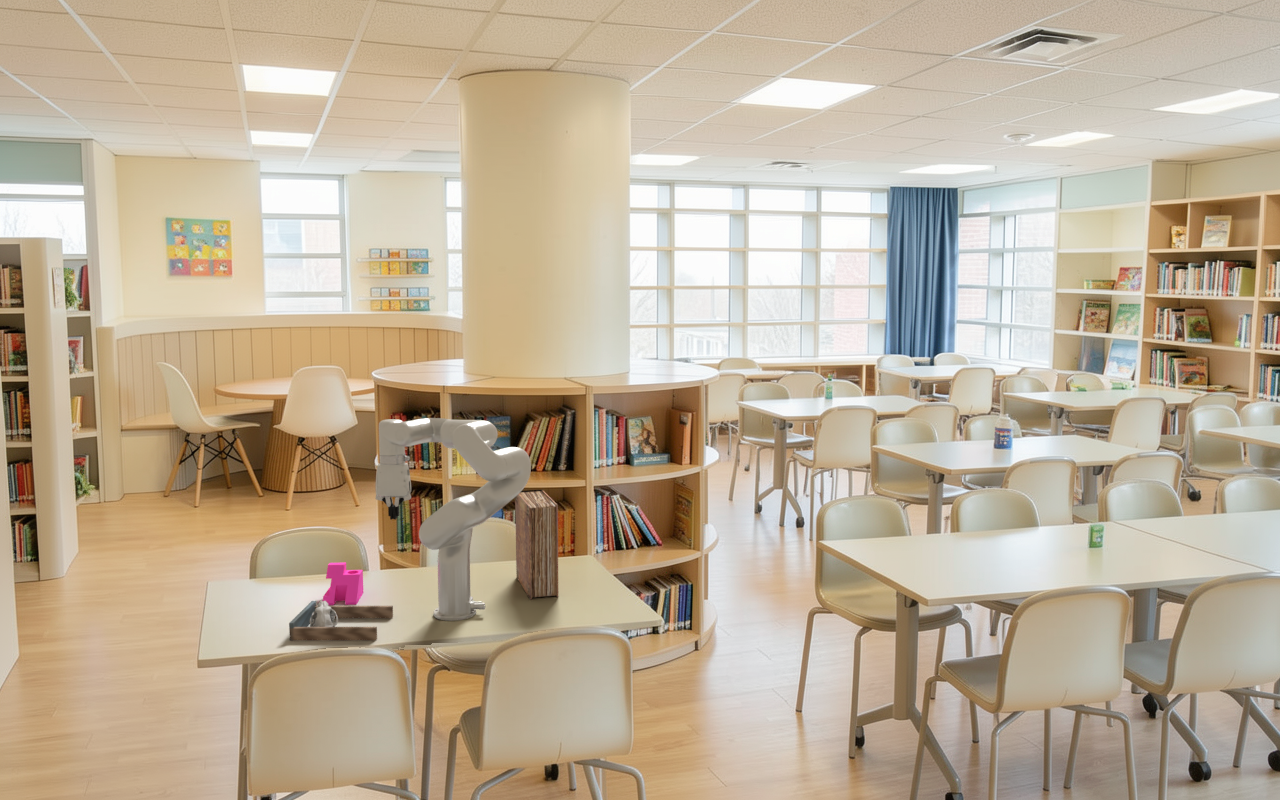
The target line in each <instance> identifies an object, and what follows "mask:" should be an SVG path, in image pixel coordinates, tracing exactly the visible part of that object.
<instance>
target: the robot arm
mask: <svg viewBox="0 0 1280 800" xmlns="http://www.w3.org/2000/svg"><path fill="white" fill-rule="evenodd" d="M498 436H499V435H498V430H497V427H496V426H495V425H494V424H493V423H492V422H490V421H488V420H479V419H449V418H445V417H444V418H443V417H442V418H440V417H437V418H436V417H425V418H424V417H422V418H417V419H412V420H406V421H403V420H401V419H397V418H395V419H394V418H392V419H389V418H388V419H382V420H381V421H379V423H378V442H379V443H378V444H379V445H378V446H379V447H378V449H379V450H378V451H379V463H378V464H377V467H376V473H375V500H376V501H380V502H384V504H385V505H386V507H388V508H387V509H388V510H387V511H388V512H387V513H388V517H390V520H392V521H393V520H394V521H395V520H397V519H398V517H399V516H400V506H401V504H402V503H403V502H405V501H409V500H411V499H412V495H411V492H412V482H411V473H410V467H409V463H407V461H410V459H411V457H410V455H406V450H405V449H406V448H405V447H407V448H408V447H412V446H413V447H414V446H416V445H421V444H425V443H426V444H427V443H442V445H443V446H444V447H445V448H447V449H455V450H456V451H457V453H458V454H459V455H460V457H462V458H463V459H464V461H465V462H466V463H468V465H469V466H470V467H471V468H472V469H473V470H474V471H475V472H476V473H477V475H478V476H479V477H481V478H482V479H483V480H485V481H487V482H486V483H485V484H483V485H482V486H481V487H479V488H478V489H477V490H475V491H474V492H472V493H469V494H466V495H462V496H460V497H456V498H454V499H451V500H449V501H447V502H446V503H445V504H443V505H442V506H440V508H439V509H437V510H436V511H434V512H433V513H432V514H431V515H429V516H428V517H427V518H426V519H425V520H424V521H423V522H422V523H421V524H420V527H419V531H418V537H419V541H420V543H421V544H422V545H423V546H424V547H425V548H426V549H429V550H433V551H436V550H438V551H437V552H438V553H437V589H438V590H437V591H438V593H437V594H438V598H437V599H438V607H436V608H435V609H434V610H433V613H432V614H433V617H434V618H436V619H437V620H441V621H447V622H449V621H450V622H452V621H454V622H455V621H462V620H463V621H464V620H467V619H470V618H472V617H474V616H475V615H476V613H477V610H480V611H481V610H486V602H483V601H478V600H477V601H475V600H474V597H473V596H471V543H472V537H473V530H474V529H473V528H475V527H477V526H480V525H482V524H484V523H485V522H486V521H488V520H489V519H490V518H492V517H493V516H494V515H495V514H496V513H497V512H499V511H500V510H501V509H502V508H504V507H505V506H506V505H508V504H509V503H510V502H511V501H513V500H515V497H516V496H517V495H518V494H519V493H520V492H521V491H524V488H526V486H527V484H528V482H529V479H530V477H531V470H532V462H531V458H530V456H529V454H528V453H527V451H526V450H524V449H523V448H521V447H518V446H517V447H516V446H509V447H504V448H503V447H502V448H499V449H496V450H493V448H491V447H492V446H493V445H495V443H496V442H497V439H498ZM393 498H394V501H393Z"/></svg>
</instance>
